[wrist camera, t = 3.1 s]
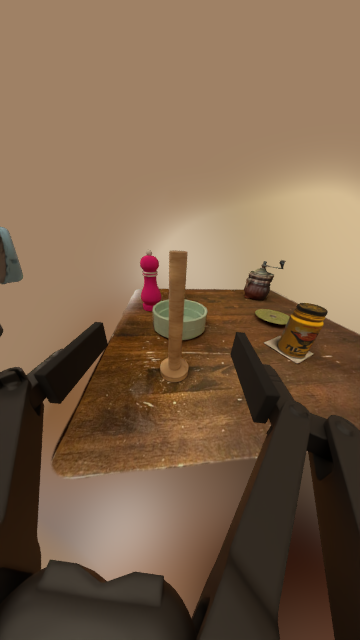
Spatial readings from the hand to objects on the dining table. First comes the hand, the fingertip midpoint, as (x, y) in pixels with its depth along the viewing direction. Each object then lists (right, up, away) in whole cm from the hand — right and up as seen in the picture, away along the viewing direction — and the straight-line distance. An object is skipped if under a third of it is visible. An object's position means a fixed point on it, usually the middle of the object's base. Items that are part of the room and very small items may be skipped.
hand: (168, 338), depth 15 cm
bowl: (+1, 0, +31) cm, 31 cm away
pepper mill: (-10, +6, +42) cm, 44 cm away
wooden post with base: (0, -8, +15) cm, 17 cm away
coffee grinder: (+38, +12, +57) cm, 70 cm away
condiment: (+29, -6, +23) cm, 37 cm away
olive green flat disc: (+33, +1, +37) cm, 49 cm away
